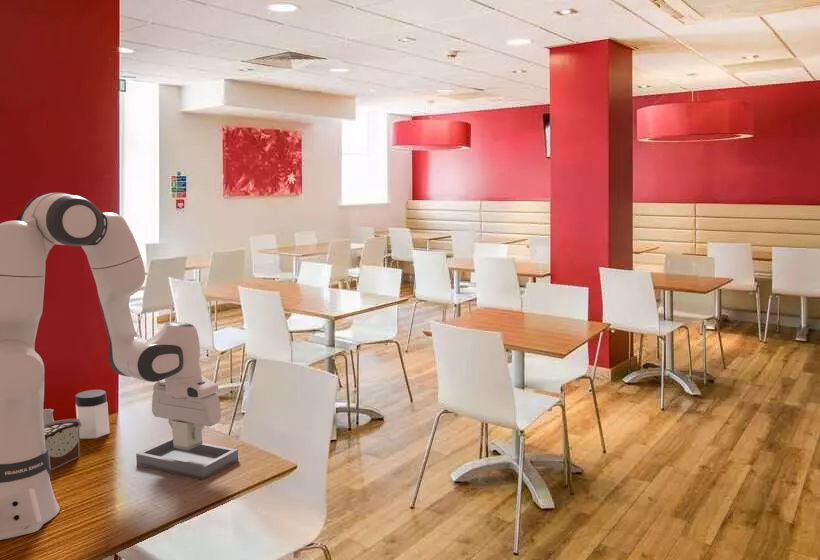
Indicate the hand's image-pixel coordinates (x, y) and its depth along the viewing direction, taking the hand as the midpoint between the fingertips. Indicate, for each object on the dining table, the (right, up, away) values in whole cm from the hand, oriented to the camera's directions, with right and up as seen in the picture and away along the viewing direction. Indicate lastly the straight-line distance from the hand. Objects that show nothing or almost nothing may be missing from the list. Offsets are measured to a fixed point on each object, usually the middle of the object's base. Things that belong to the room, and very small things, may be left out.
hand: (187, 437), depth 178 cm
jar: (-34, -4, +23) cm, 41 cm away
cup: (0, -2, 0) cm, 2 cm away
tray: (0, -7, +1) cm, 7 cm away
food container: (-35, -7, +2) cm, 36 cm away
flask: (-43, -6, +14) cm, 45 cm away
